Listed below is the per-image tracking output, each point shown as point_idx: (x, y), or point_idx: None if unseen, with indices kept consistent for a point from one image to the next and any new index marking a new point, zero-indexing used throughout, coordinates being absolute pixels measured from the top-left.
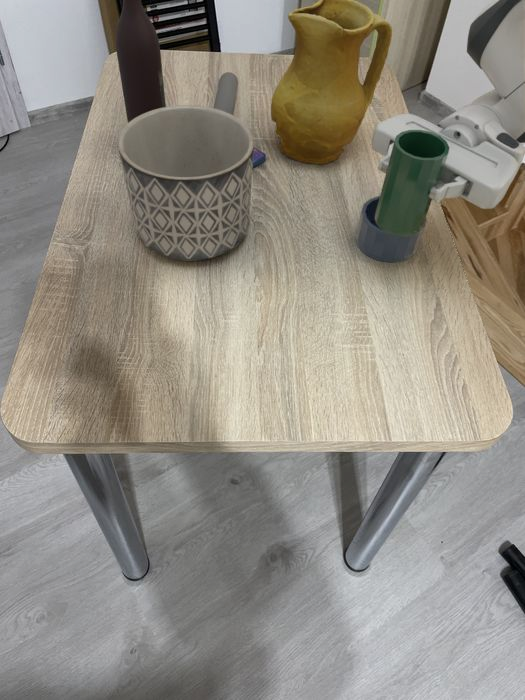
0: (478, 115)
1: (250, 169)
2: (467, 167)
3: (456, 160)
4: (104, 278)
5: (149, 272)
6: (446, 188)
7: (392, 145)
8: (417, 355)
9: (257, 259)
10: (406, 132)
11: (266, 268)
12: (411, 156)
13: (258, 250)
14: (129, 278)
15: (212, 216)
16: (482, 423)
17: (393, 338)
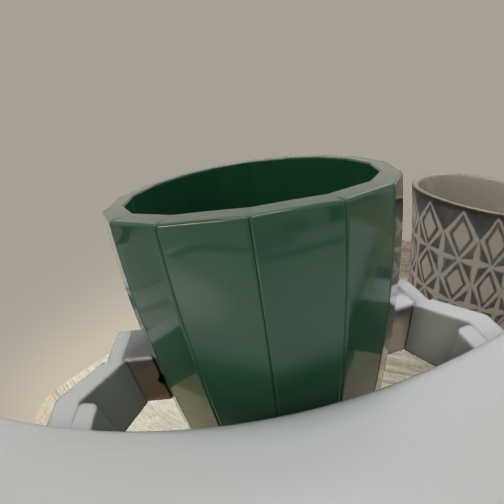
0: None
1: (468, 238)
2: (45, 468)
3: (131, 496)
4: (407, 259)
5: (408, 279)
6: (110, 356)
7: (485, 322)
8: (135, 428)
9: (407, 355)
10: (377, 164)
11: (387, 359)
12: (218, 165)
13: (424, 360)
14: (403, 269)
15: (414, 245)
16: (51, 403)
17: (174, 427)
